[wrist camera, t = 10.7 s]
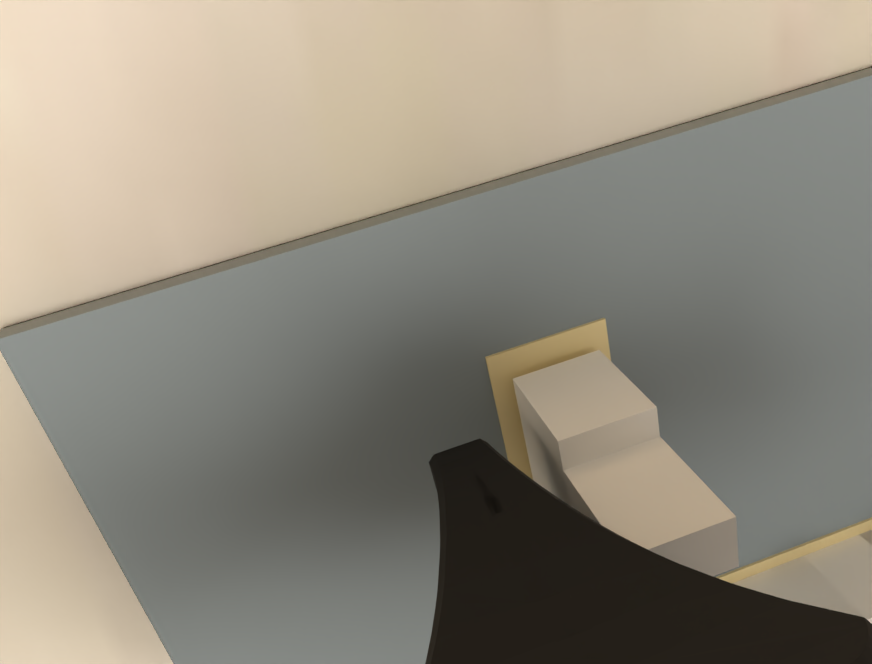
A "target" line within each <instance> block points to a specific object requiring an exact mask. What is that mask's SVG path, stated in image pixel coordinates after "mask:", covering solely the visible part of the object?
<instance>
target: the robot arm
mask: <svg viewBox="0 0 872 664" xmlns="http://www.w3.org/2000/svg"><path fill="white" fill-rule="evenodd" d="M429 465H430V469H431V472H432V476H433V479H434V483H435V486H436V490H437V494H438V502H439V517H440V558H439V575H438V589H437V598H436V606H435V614H434V620H433V627H432V633H431V638H430V643H429V648H428V653H427V658H426V663H425V664H872V624H871V623H870V622H869V621H868V620H867V619H866V618H864V617H861V616H856V615H852V614H847V613H843V612H839V611H834V610H830V609H825V608H821V607H816V606H812V605H807V604H803V603H798V602H794V601H790V600H786V599H782V598H779V597H775V596H772V595H769V594H765V593H762V592H758V591H755V590H752V589H748V588H745V587H742V586H739V585H736V584H733V583H730V582H727V581H724V580H721V579H718V578H716V577H713V576H710V575H708V574H705V573H702V572H700V571H697V570H694V569H692V568H689V567H686V566H684V565H681V564H679V563H676V562H674V561H672V560H670V559H667V558H665V557H663V556H661V555H658V554H656V553H654V552H652V551H650V550H648V549H646V548H644V547H642V546H640V545H638V544H636V543H633V542H631V541H630V540H628V539H626V538H624V537H622V536H620V535H618V534H616V533H615V532H613V531H611V530H609V529H607V528H606V527H604V526H602V525H601V524H599V523H597V522H596V521H594V520H592V519H590V518H589V517H587V516H585V515H584V514H582V513H581V512H579V511H577V510H576V509H574V508H573V507H571V506H570V505H568V504H567V503H565V502H564V501H562V500H561V499H559V498H558V497H556V496H555V495H553V494H552V493H551V492H549V491H548V490H546V489H545V488H543V487H542V486H540V485H539V484H538V483H536V482H535V481H534V480H532V479H531V478H530V477H528V476H527V475H526V474H524V473H523V472H522V471H521V470H519V469H518V468H517V467H515V466H514V465H513V464H512V463H510V462H509V461H508V460H507V459H506V458H504V457H503V456H502V455H501V454H500V453H499V452H497V451H496V450H495V449H494V448H493V447H492V446H491V445H490V444H489V443H488V442H486V441H484V440H482V439H480V438H479V439H477V440H474V441H471V442H468V443H465V444H462V445H459V446H456V447H453V448H451V449H448V450H445V451H442V452H439V453H436V454H434V455H433V456H432V458H431V459H430V461H429Z"/></svg>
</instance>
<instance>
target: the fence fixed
mask: <svg viewBox="0 0 872 664" xmlns="http://www.w3.org/2000/svg"><path fill="white" fill-rule="evenodd" d="M733 584H736V585H739V586H742V587H745V588H748V589H752V590H755V591H758V592H762V593H765V594H769V595H772V596H775V597H779V598H782V599H786V600H790V601H794V602H798V603H803V604H807V605H812V606H816V607H821V608H825V609H830V610H834V611H839V612H843V613H847V614H852V615H856V616H861V617H864V618H866V619H867V620H868V621H869V622H870V623H871V624H872V530H869V531H867V532H864V533H861V534H859V535H856V536H854V537H851V538H849V539H846V540H843V541H841V542H838V543H836V544H833V545H830V546H828V547H825V548H823V549H820V550H817V551H815V552H812V553H810V554H807V555H804V556H802V557H799V558H797V559H794V560H791V561H789V562H786V563H784V564H781V565H778V566H776V567H773V568H771V569H768V570H765V571H763V572H760V573H758V574H755V575H752V576H750V577H747V578H745V579H742V580H740V581H737V582H734V583H733Z"/></svg>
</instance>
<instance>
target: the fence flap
mask: <svg viewBox="0 0 872 664" xmlns="http://www.w3.org/2000/svg"><path fill="white" fill-rule="evenodd" d="M513 384H514V389H515V394H516V399H517V404H518V408H519V413H520V418H521V423H522V428H523V433H524V438H525V443H526V448H527V453H528V458H529V462H530V467H531V472H532V477H533V480H534V481H535V482H536V483H538V484H539V485H540V486H542V487H543V488H545V489H546V490H548V491H549V492H551V493H552V494H553V495H555V496H556V497H558V498H559V499H561V500H562V501H564V502H565V503H567V504H568V505H570V506H571V507H573V508H574V509H576V510H577V511H579V512H581V513H582V514H584V515H585V516H587V517H589V518H590V519H592V520H594V521H596V522H597V523H599V524H601V525H602V526H604V527H606V528H607V529H609V530H611V531H613V532H615V533H616V534H618V535H620V536H622V537H624V538H626V539H628V540H630V541H631V542H633V543H636V544H638V545H640V546H642V547H644V548H646V549H648V550H650V551H652V552H654V553H656V554H658V555H661V556H663V557H665V558H667V559H670V560H672V561H674V562H676V563H679V564H681V565H684V566H686V567H689V568H692V569H694V570H697V571H700V572H702V573H705V574H708V575H710V576H715V575H718V574H721V573H723V572H726V571H728V570H731V569H734V568H736V567H739V560H738V540H737V521H736V516H735V515H734V514H733V513H732V512H731V511H730V510H729V508H728V507H727V506H726V505H725V504H724V503H723V502H722V501H721V500H720V499H719V498H718V497H717V496H716V495H715V494H714V493H713V492H712V491H711V490H710V488H709V487H708V486H707V485H706V484H705V483H704V482H703V481H702V480H701V479H700V478H699V477H698V476H697V475H696V474H695V473H694V472H693V471H692V470H691V469H690V467H689V466H688V465H687V464H686V463H685V462H684V461H683V460H682V459H681V458H680V457H679V456H678V455H677V454H676V453H675V452H674V451H673V450H672V449H671V447H670V446H669V445H668V444H667V443H666V442H665V441H664V440H663V439H662V438H661V437H660V432H659V423H658V413H657V407H656V406H655V405H654V404H653V403H652V402H651V401H650V400H649V399H648V398H647V397H646V396H645V395H644V394H643V393H642V392H641V391H640V390H639V389H638V388H637V387H636V386H635V385H634V384H633V383H632V382H631V381H630V380H629V379H628V378H627V377H626V376H625V375H624V374H623V373H622V372H621V371H620V370H619V369H618V368H617V367H616V366H615V365H614V364H613V363H612V362H611V361H610V360H609V359H608V358H607V357H606V356H605V355H604V354H603V353H602V352H601V351H600V350H597V351H594V352H591V353H588V354H585V355H582V356H579V357H576V358H573V359H570V360H567V361H564V362H561V363H558V364H555V365H552V366H549V367H546V368H543V369H540V370H537V371H534V372H531V373H528V374H525V375H522V376H519V377H516V378H513Z"/></svg>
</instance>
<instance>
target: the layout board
mask: <svg viewBox="0 0 872 664" xmlns="http://www.w3.org/2000/svg"><path fill="white" fill-rule="evenodd" d="M597 350H600V351H601V352H602V353H603V354H604V355H605V356H606V357H607V358H608V359H609V360H610V361H611V362H612V363H613V364H614V365H615V366H616V367H617V368H618V369H619V370H620V371H621V372H622V373H623V374H624V375H625V376H626V377H627V378H628V379H629V380H630V381H631V382H632V383H633V384H634V385H635V386H636V387H637V388H638V389H639V390H640V391H641V392H642V393H643V394H644V395H645V396H646V397H647V398H648V399H649V400H650V401H651V402H652V403H653V404H654V405H655V406H656V407H657V413H658V423H659V432H660V437H661V438H662V439H663V440H664V441H665V442H666V443H667V444H668V445H669V446H670V447H671V449H672V450H673V451H674V452H675V453H676V454H677V455H678V456H679V457H680V458H681V459H682V460H683V461H684V462H685V463H686V464H687V465H688V466H689V467H690V469H691V470H692V471H693V472H694V473H695V474H696V475H697V476H698V477H699V478H700V479H701V480H702V481H703V482H704V483H705V484H706V485H707V486H708V487H709V488H710V490H711V491H712V492H713V493H714V494H715V495H716V496H717V497H718V498H719V499H720V500H721V501H722V502H723V503H724V504H725V505H726V506H727V507H728V508H729V510H730V511H731V512H732V513H733V514H734V515H735V516H736V521H737V540H738V560H739V567H736V568H734V569H731V570H728V571H726V572H723V573H721V574H718V575H715V576H713V577H716V578H718V579H721V580H724V581H727V582H730V583H734V582H737V581H740V580H742V579H745V578H747V577H750V576H752V575H755V574H758V573H760V572H763V571H765V570H768V569H771V568H773V567H776V566H778V565H781V564H784V563H786V562H789V561H791V560H794V559H797V558H799V557H802V556H804V555H807V554H810V553H812V552H815V551H817V550H820V549H823V548H825V547H828V546H830V545H833V544H836V543H838V542H841V541H843V540H846V539H849V538H851V537H854V536H856V535H859V534H861V533H864V532H867V531H869V530H872V67H871V68H867V69H864V70H861V71H857V72H854V73H851V74H847V75H844V76H841V77H838V78H834V79H831V80H828V81H824V82H821V83H818V84H814V85H811V86H808V87H804V88H801V89H798V90H794V91H791V92H788V93H784V94H781V95H778V96H774V97H771V98H768V99H764V100H761V101H758V102H754V103H751V104H748V105H744V106H741V107H738V108H734V109H731V110H728V111H724V112H721V113H718V114H714V115H711V116H708V117H704V118H701V119H698V120H695V121H691V122H688V123H685V124H681V125H678V126H675V127H671V128H668V129H665V130H661V131H658V132H655V133H651V134H648V135H645V136H641V137H638V138H635V139H631V140H628V141H625V142H621V143H618V144H615V145H611V146H608V147H605V148H601V149H598V150H595V151H591V152H588V153H585V154H581V155H578V156H575V157H571V158H568V159H565V160H562V161H558V162H555V163H552V164H548V165H545V166H542V167H538V168H535V169H532V170H528V171H525V172H522V173H518V174H515V175H512V176H508V177H505V178H502V179H498V180H495V181H492V182H488V183H485V184H482V185H478V186H475V187H472V188H468V189H465V190H462V191H458V192H455V193H452V194H448V195H445V196H442V197H438V198H435V199H432V200H428V201H425V202H422V203H419V204H415V205H412V206H409V207H405V208H402V209H399V210H395V211H392V212H389V213H385V214H382V215H379V216H375V217H372V218H369V219H365V220H362V221H359V222H355V223H352V224H349V225H345V226H342V227H339V228H335V229H332V230H329V231H325V232H322V233H319V234H315V235H312V236H309V237H305V238H302V239H299V240H295V241H292V242H289V243H286V244H282V245H279V246H276V247H272V248H269V249H266V250H262V251H259V252H256V253H252V254H249V255H246V256H242V257H239V258H236V259H232V260H229V261H226V262H222V263H219V264H216V265H212V266H209V267H206V268H202V269H199V270H196V271H192V272H189V273H186V274H182V275H179V276H176V277H172V278H169V279H166V280H162V281H159V282H156V283H152V284H149V285H146V286H143V287H139V288H136V289H133V290H129V291H126V292H123V293H119V294H116V295H113V296H109V297H106V298H103V299H99V300H96V301H93V302H89V303H86V304H83V305H79V306H76V307H73V308H69V309H66V310H63V311H59V312H56V313H53V314H49V315H46V316H43V317H39V318H36V319H33V320H29V321H26V322H23V323H19V324H16V325H13V326H9V327H6V328H3V329H1V330H0V351H1V353H2V355H3V357H4V358H5V360H6V362H7V364H8V366H9V367H10V369H11V371H12V373H13V375H14V376H15V378H16V380H17V382H18V384H19V385H20V387H21V389H22V391H23V393H24V394H25V396H26V398H27V400H28V402H29V403H30V405H31V407H32V409H33V411H34V412H35V414H36V416H37V418H38V420H39V421H40V423H41V425H42V427H43V429H44V430H45V432H46V434H47V436H48V438H49V440H50V441H51V443H52V445H53V447H54V449H55V450H56V452H57V454H58V456H59V458H60V459H61V461H62V463H63V465H64V467H65V468H66V470H67V472H68V474H69V476H70V477H71V479H72V481H73V483H74V485H75V486H76V488H77V490H78V492H79V494H80V495H81V497H82V499H83V501H84V503H85V504H86V506H87V508H88V510H89V512H90V513H91V515H92V517H93V519H94V521H95V522H96V524H97V526H98V528H99V530H100V532H101V533H102V535H103V537H104V539H105V541H106V542H107V544H108V546H109V548H110V550H111V551H112V553H113V555H114V557H115V559H116V560H117V562H118V564H119V566H120V568H121V569H122V571H123V573H124V575H125V577H126V578H127V580H128V582H129V584H130V586H131V587H132V589H133V591H134V593H135V595H136V596H137V598H138V600H139V602H140V604H141V605H142V607H143V609H144V611H145V613H146V615H147V616H148V618H149V620H150V622H151V624H152V625H153V627H154V629H155V631H156V633H157V634H158V636H159V638H160V640H161V642H162V643H163V645H164V647H165V649H166V651H167V652H168V654H169V656H170V658H171V660H172V661H173V663H174V664H425V663H426V658H427V653H428V648H429V643H430V638H431V633H432V627H433V620H434V614H435V606H436V598H437V589H438V575H439V558H440V517H439V502H438V494H437V490H436V486H435V483H434V479H433V476H432V472H431V469H430V465H429V461H430V459H431V458H432V456H433V455H434V454H436V453H439V452H442V451H445V450H448V449H451V448H453V447H456V446H459V445H462V444H465V443H468V442H471V441H474V440H477V439H479V438H480V439H482V440H484V441H486V442H488V443H489V444H490V445H491V446H492V447H493V448H494V449H495V450H496V451H497V452H499V453H500V454H501V455H502V456H503V457H504V458H506V459H507V460H508V461H509V462H510V463H512V464H513V465H514V466H515V467H517V468H518V469H519V470H521V471H522V472H523V473H524V474H526V475H527V476H528V477H530V478H531V479H532V480H533V477H532V472H531V467H530V462H529V458H528V453H527V448H526V443H525V438H524V433H523V428H522V423H521V418H520V413H519V408H518V404H517V399H516V394H515V389H514V384H513V378H516V377H519V376H522V375H525V374H528V373H531V372H534V371H537V370H540V369H543V368H546V367H549V366H552V365H555V364H558V363H561V362H564V361H567V360H570V359H573V358H576V357H579V356H582V355H585V354H588V353H591V352H594V351H597Z"/></svg>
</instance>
